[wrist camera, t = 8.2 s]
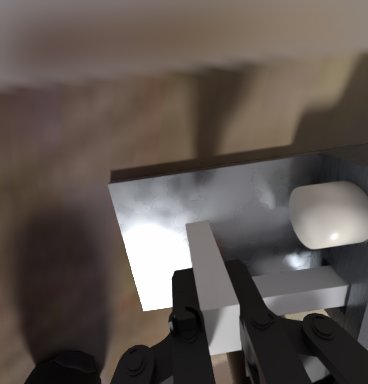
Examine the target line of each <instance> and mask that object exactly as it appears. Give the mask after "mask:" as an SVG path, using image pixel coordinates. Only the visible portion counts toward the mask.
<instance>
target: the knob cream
mask: <svg viewBox="0 0 368 384" xmlns="http://www.w3.org/2000/svg"><path fill="white" fill-rule="evenodd" d="M289 214H290V220H291V223H292V226H293V229H294V231H295V233H296V235H297V237H298V238H299V240H300V241H301V242H302V243H303V244H304V245H305V246H306V247H308V248H310V249H320V248H326V247H333V246H340V245H347V244H354V243H360V242H364V241H365V240H367V239H368V196H367V195H366V194H365V192H364V191H363V190H362V189H361V188H360V187H359V186H357V185H356V184H354V183H352V182H349V181H335V182H329V183H322V184H315V185H308V186H301V187H297V188H295V189H294V190H293V192H292V193H291V196H290V200H289Z"/></svg>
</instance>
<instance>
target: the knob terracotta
mask: <svg viewBox="0 0 368 384" xmlns="http://www.w3.org/2000/svg"><path fill="white" fill-rule="evenodd" d="M252 279H253V281H254V283H255V285H256V286H257V288H258V290H259V292H260V294H261V296H262V298H263V300H264V302H265V304H266V306H267V307H268V309H270V310H271V311H272V312H274V314H276V315H277V316H279V315H286V314H292V313H299V312H306V311H313V310H319V309H326V308H333V307H340V306H346V305H348V300H349V296H350V291H351V287H352V286H351V285H350V284H349V283H348V282H347V281H346V280H345V279H344V278H343V277H342V276H341V275H340V274H339V273H338V272H337V271H336V270H335V269H334V268H333V267H332V266H331V265H328V266H322V267H315V268H308V269H301V270H294V271H288V272H281V273H274V274H267V275H261V276H254V277H252Z"/></svg>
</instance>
